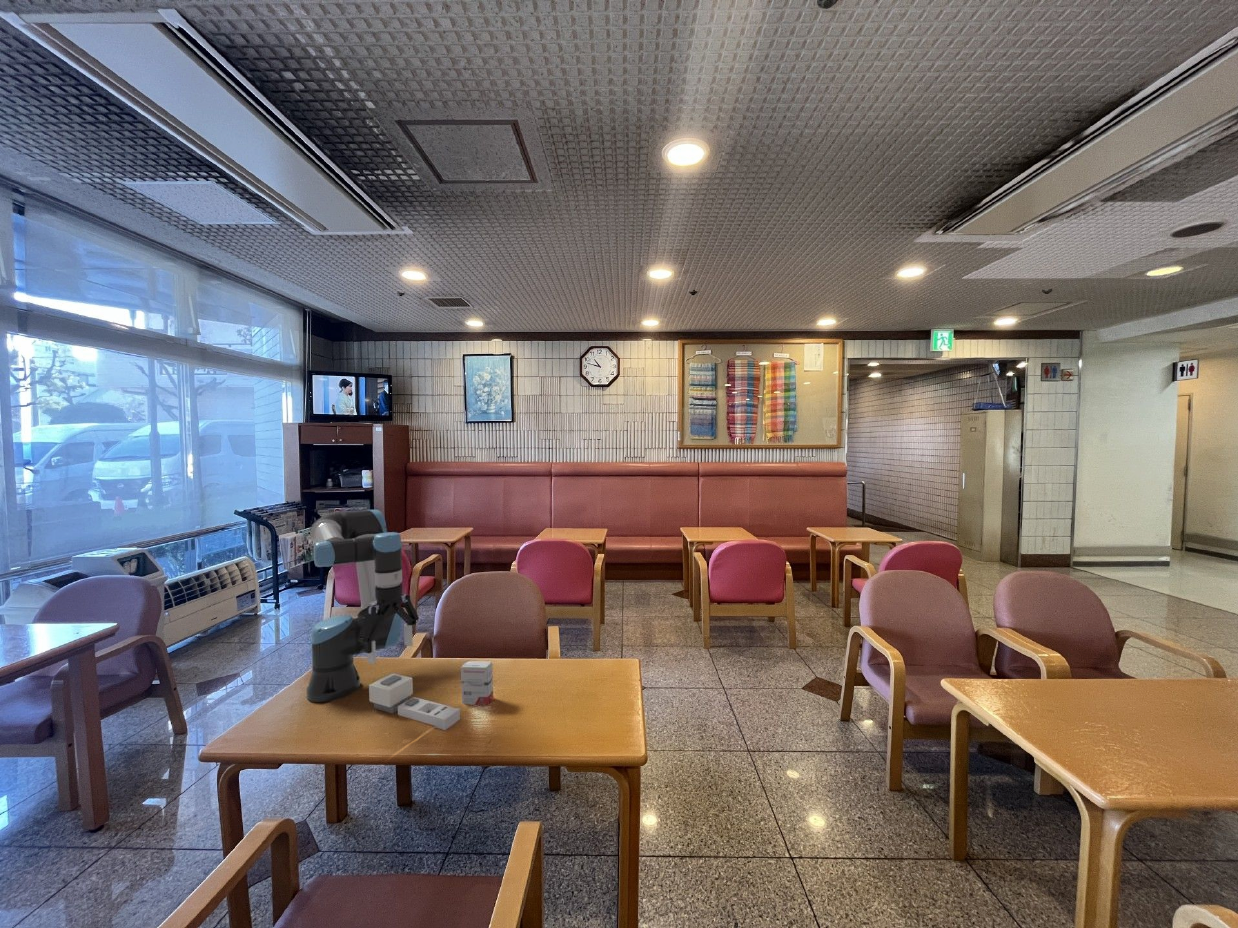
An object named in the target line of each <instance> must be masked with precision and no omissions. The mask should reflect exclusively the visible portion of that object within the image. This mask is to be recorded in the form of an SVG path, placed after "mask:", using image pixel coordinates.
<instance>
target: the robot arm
mask: <svg viewBox="0 0 1238 928" xmlns="http://www.w3.org/2000/svg"><path fill="white" fill-rule="evenodd" d="M386 523H387V522H386V520H385V517H384V514H383V512H382V511H380V510H379V509H364V510H351V511H350V510H349V511H335V512H332V513H328V514H326V515H323V516H321V517H319V518H318V519H316V520H315V522H313V524H312V525H311V527H310V529H309V537H310V539H311V541H312V542H313V543H314V545H313V561H314V565H315V567H317V568H322V567H327V568H330V567H332V566H340V565H346V564H355V566H356V567H355V568H356V575H357V580H358V581H357V582H358V589H359V598H360V606H361V608H360V609H359V611H358V612H357V617H356V618H354V617H352V616H353V615H350V614H339V615H335V616H331V617H328V618H325V619H324V620H321V621H319V622H318V623H317V624H315V625H314V626H313V627H312V628H311V638H310V644H311V668H312V669H311V670H312V671H311V676H310V678H309V681H308V686H307V688H306V698H307V700H308V701H310V702H311V703H327V702H332V701H334V700H339V699H341V698H344V697H347V696H349V695H351V694H353V693H354V692H356V691H357V690H359V688H360V687H361V678H360V675H359V672H358V670H357V668H356V666H355V662H354V656H358V655H361V654H366V663H367V664H371V665H375V664H377V657H376V651H379V650H386V649H388V648H391V647H395V646H397V645H398V644H399V642H400V639H401V634H402V621H404V623H405V624H403V638H404V639H403V643H404V644H403V645H404V646H408V647H412V646H414V645H413V642H414V641H413V634H414V631H415V629H414V628H415V627H414V626H415V625H416V624H417V621H419V619H420V617H419V615H418V613H417V611H416V609H415V607H414V605H413V602H412V601H411V595H410V594H407V593H406V594H405V593H403V583H402V582H403V567H402V566H403V563H402V562H403V561H402V559H403V558H402V554H403V552H402V546H403V543H402V536H401V534H400V533H399V532H395V531H392V532H389V531H388V528H387V524H386ZM401 605H403V606H401Z"/></svg>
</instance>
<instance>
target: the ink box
mask: <svg viewBox="0 0 1238 928" xmlns="http://www.w3.org/2000/svg"><path fill="white" fill-rule="evenodd" d="M460 676H461V677H460V679H461V681H460V682H461V703H462V704H465V705H471V706H473V705H474V706H475V705H477V706H489V705H490V703H491V702H492V701H493V699H494V685H493V684H494V679H493V676H494V675H493V661H481V660H480V661H479V660H478V661H477V660H476V661H474V660H471V661H470V660H469V661H467V660H466V662H465V663H463V665H462V666H461V667H460Z"/></svg>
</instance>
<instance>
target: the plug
mask: <svg viewBox="0 0 1238 928" xmlns="http://www.w3.org/2000/svg"><path fill="white" fill-rule="evenodd" d="M413 688H414V687H413V677H410V676H407V675H401V674H399V673H393V672H392V673H389V674H388V675H386V676H384V677H382V678H380V679H378V680H376V681H374V682H372V683H370V684H368V693H369V694H368V696H369V702H370V703H373V704H374V703H377V704H380V705H384V706H387V707H391V706H393V705H395V704H396V703H398V702H400V701H402V700H403V699H405V698H407V697H408V696H409V697H410V696H412V695H413V694H414V691H413V690H414V689H413Z"/></svg>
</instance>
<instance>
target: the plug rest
mask: <svg viewBox="0 0 1238 928" xmlns="http://www.w3.org/2000/svg"><path fill="white" fill-rule="evenodd" d="M409 699H410V696H408V697H407V698H405V699H403V700H402V701H400V702H398V703H396V704H395V705H393V706H391V707H387V706H384V705H380V704H377V703H373V708H374V709H377V710H380V711H383V712H387V713H390V714H394V713H396V712H398V706H399V705H401V704H403V703H404V702H406V701H408V700H409Z"/></svg>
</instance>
